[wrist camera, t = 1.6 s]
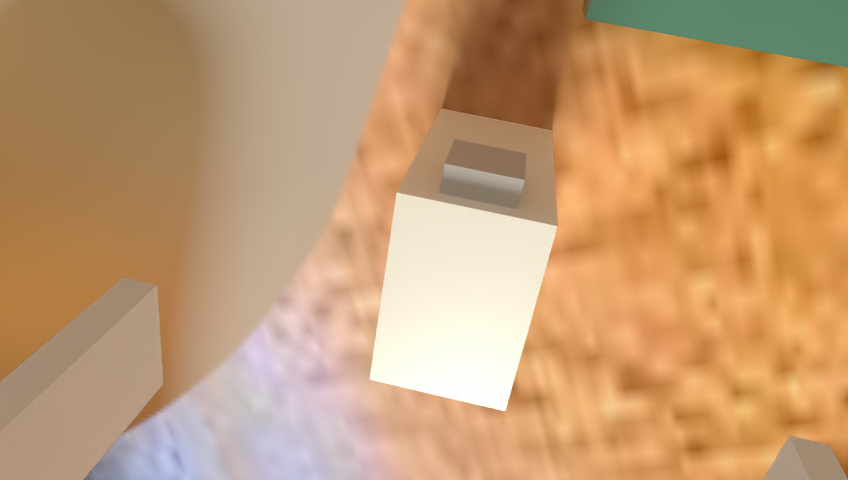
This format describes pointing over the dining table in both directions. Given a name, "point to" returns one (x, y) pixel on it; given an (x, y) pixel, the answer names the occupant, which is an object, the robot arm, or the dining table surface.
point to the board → (740, 23)
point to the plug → (466, 259)
